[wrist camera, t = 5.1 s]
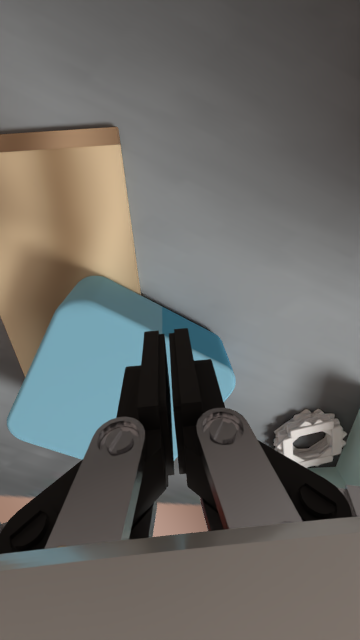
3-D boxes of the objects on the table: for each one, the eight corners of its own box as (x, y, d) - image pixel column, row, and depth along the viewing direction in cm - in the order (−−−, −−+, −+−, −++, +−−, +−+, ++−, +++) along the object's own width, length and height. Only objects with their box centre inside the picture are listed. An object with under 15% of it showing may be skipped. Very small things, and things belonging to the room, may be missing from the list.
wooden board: (118, 128, 15) (116, 126, 15) (152, 382, 24) (152, 386, 23) (-66, 140, 15) (-72, 138, 15) (34, 392, 23) (31, 396, 23)
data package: (85, 265, 18) (27, 390, 23) (64, 289, 14) (-2, 435, 19) (231, 341, 22) (156, 437, 26) (247, 377, 18) (155, 484, 22)
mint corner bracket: (372, 385, 26) (443, 456, 20) (337, 467, 32) (384, 544, 25) (247, 389, 26) (277, 464, 19) (234, 472, 31) (253, 553, 24)
